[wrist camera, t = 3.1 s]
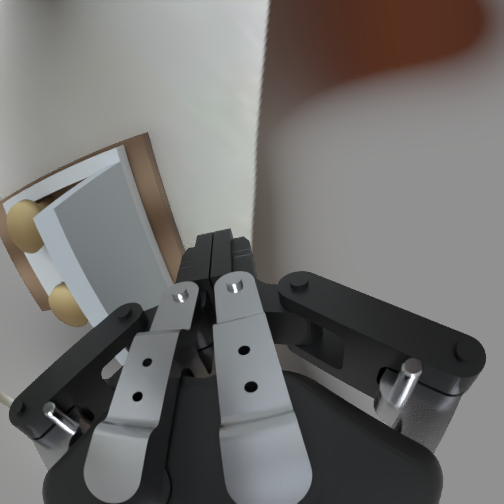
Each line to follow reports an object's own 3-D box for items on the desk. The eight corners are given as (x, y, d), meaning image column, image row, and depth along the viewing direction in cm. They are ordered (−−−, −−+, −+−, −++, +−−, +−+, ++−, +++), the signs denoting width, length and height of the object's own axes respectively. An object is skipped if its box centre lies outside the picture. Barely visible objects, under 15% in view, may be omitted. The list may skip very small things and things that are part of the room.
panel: (11, 197, 14) (-58, 253, 7) (123, 144, 14) (45, 187, 7) (66, 307, 20) (30, 380, 13) (175, 288, 20) (157, 383, 12)
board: (-4, 203, 16) (-37, 228, 12) (147, 132, 15) (120, 143, 11) (47, 303, 21) (27, 337, 17) (193, 275, 21) (187, 319, 17)
